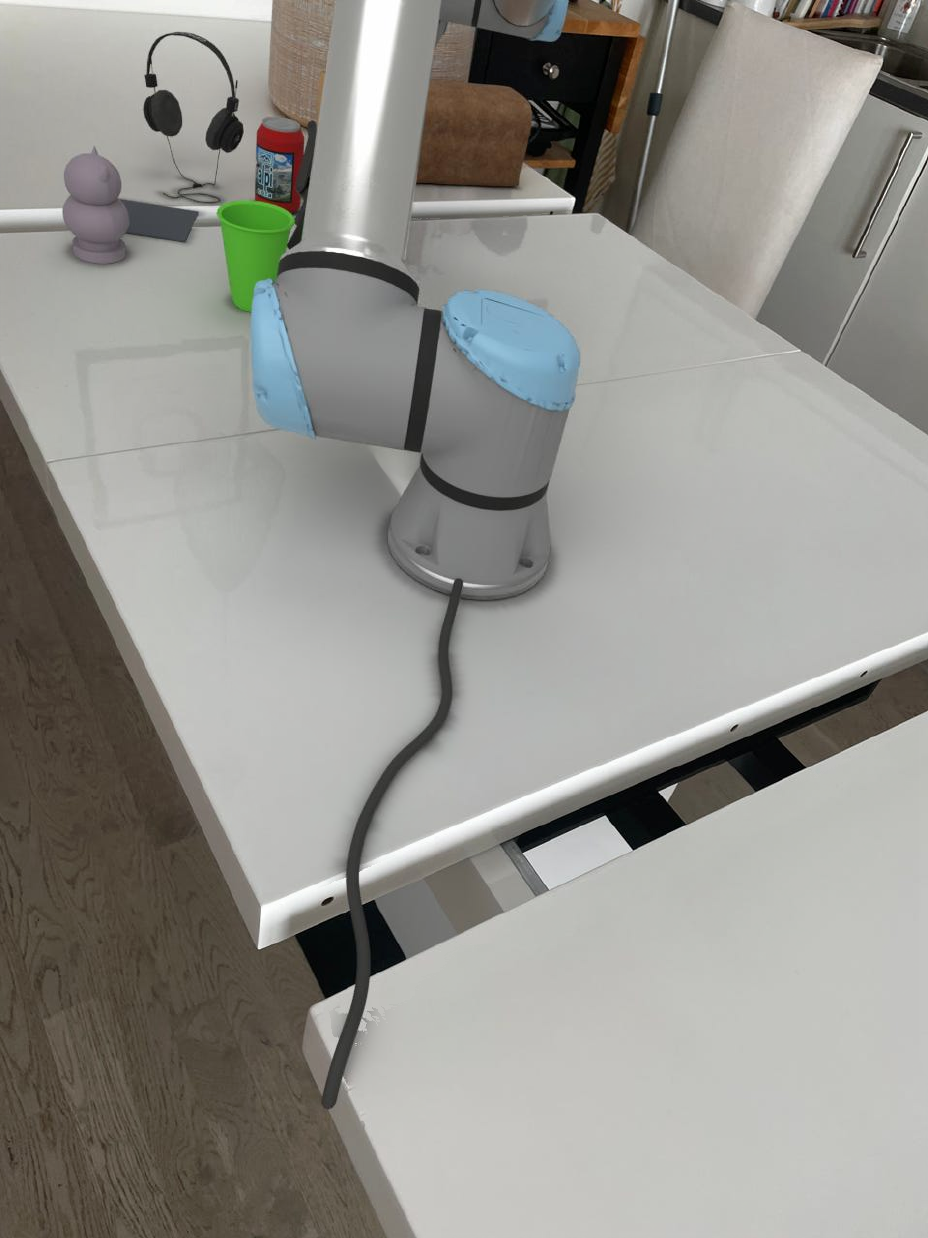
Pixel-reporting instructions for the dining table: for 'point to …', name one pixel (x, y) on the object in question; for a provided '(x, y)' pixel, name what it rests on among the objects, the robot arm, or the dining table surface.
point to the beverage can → (278, 162)
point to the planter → (304, 52)
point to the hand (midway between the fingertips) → (295, 252)
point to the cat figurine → (95, 209)
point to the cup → (252, 245)
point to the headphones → (168, 117)
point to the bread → (471, 134)
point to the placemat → (159, 220)
